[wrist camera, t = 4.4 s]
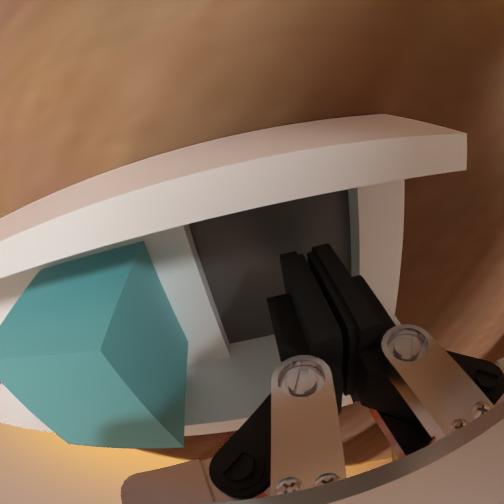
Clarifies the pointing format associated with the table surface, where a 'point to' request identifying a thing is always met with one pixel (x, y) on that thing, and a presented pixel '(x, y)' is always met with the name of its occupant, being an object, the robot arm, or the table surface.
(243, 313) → the trap channel
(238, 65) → the table surface
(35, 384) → the teal block
